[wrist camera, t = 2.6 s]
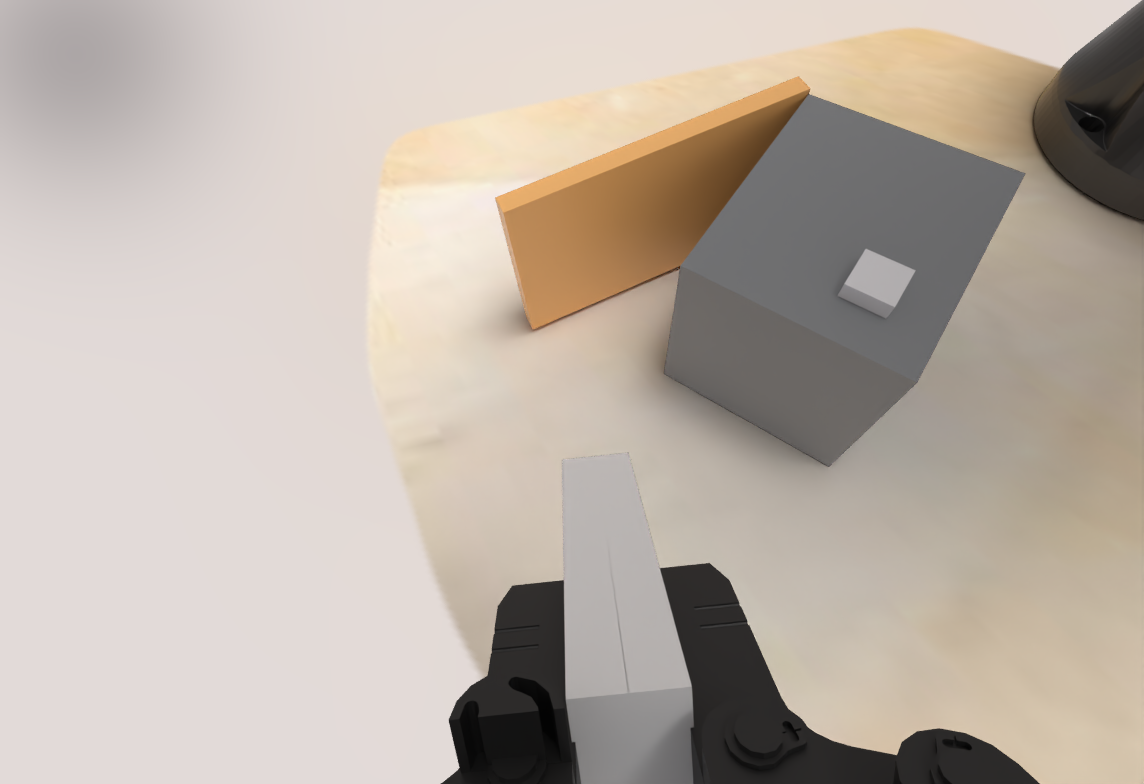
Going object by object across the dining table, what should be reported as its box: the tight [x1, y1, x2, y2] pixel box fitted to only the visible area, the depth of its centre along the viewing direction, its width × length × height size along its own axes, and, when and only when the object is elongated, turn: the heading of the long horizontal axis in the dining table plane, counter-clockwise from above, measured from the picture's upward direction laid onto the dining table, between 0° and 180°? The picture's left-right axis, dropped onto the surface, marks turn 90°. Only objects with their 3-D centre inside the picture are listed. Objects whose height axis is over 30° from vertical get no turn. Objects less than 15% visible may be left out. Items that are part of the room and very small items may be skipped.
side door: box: [495, 76, 810, 329], centre depth 32 cm, size 16×2×10 cm, turn 115°
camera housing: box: [664, 94, 1025, 466], centre depth 29 cm, size 14×10×11 cm
